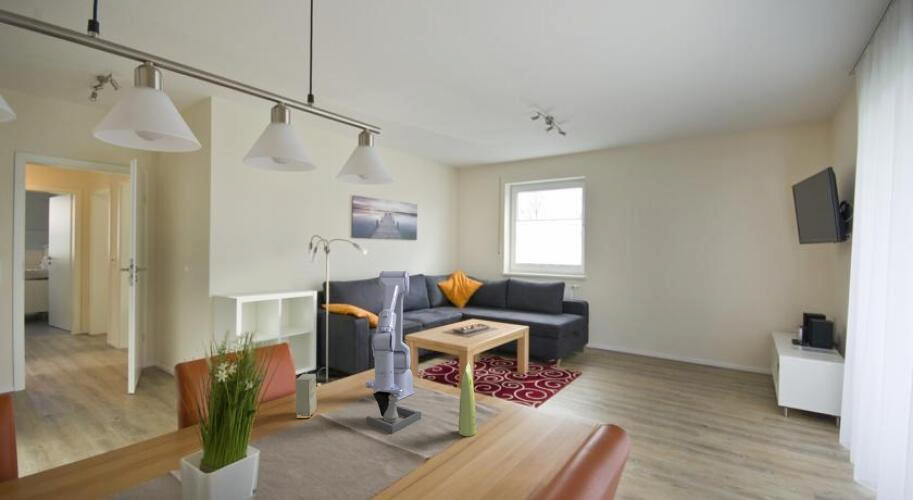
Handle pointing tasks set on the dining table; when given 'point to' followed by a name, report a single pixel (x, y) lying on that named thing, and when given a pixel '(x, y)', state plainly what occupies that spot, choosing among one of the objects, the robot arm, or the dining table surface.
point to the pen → (393, 428)
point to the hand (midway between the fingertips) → (384, 415)
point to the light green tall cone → (467, 405)
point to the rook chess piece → (391, 409)
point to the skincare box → (306, 394)
